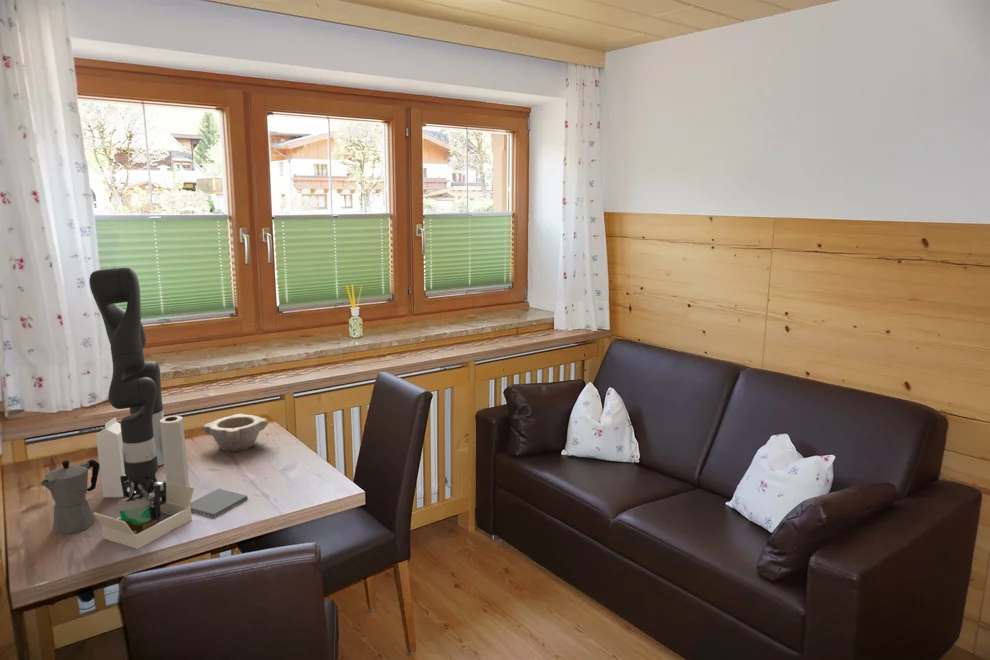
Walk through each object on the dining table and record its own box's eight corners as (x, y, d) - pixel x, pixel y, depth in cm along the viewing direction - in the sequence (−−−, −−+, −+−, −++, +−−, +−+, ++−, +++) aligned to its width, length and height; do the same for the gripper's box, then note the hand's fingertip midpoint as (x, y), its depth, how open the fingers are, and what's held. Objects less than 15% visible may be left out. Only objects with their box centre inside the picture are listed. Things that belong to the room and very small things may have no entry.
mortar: (242, 434, 238) (240, 410, 236) (274, 443, 230) (272, 418, 228) (200, 449, 224) (197, 424, 222) (232, 460, 216) (230, 433, 214)
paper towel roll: (169, 484, 198) (162, 416, 193) (191, 482, 199) (184, 414, 195) (163, 495, 191) (156, 424, 187) (186, 492, 192) (179, 422, 188)
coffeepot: (62, 541, 166) (53, 474, 162) (36, 534, 169) (26, 468, 165) (117, 514, 180) (109, 451, 176) (92, 508, 183) (84, 446, 179)
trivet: (184, 509, 183) (184, 505, 182) (218, 491, 193) (218, 488, 193) (214, 517, 178) (213, 514, 178) (247, 498, 189) (247, 495, 189)
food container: (142, 542, 166) (137, 504, 163) (120, 539, 167) (116, 502, 165) (175, 518, 177) (171, 483, 175) (154, 516, 179) (150, 481, 176)
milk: (134, 488, 195) (127, 416, 191) (124, 497, 190) (116, 423, 185) (113, 488, 195) (105, 416, 191) (102, 497, 189) (94, 423, 185)
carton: (95, 542, 165) (91, 512, 164) (166, 507, 184) (163, 479, 182) (129, 553, 160) (125, 522, 159) (198, 516, 179) (195, 488, 177)
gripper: (106, 455, 167) (114, 517, 171) (147, 466, 162) (153, 529, 165) (133, 445, 174) (140, 504, 178) (173, 455, 168) (179, 515, 172)
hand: (146, 516), depth 171 cm, fingers closed on food container, 6 cm apart
